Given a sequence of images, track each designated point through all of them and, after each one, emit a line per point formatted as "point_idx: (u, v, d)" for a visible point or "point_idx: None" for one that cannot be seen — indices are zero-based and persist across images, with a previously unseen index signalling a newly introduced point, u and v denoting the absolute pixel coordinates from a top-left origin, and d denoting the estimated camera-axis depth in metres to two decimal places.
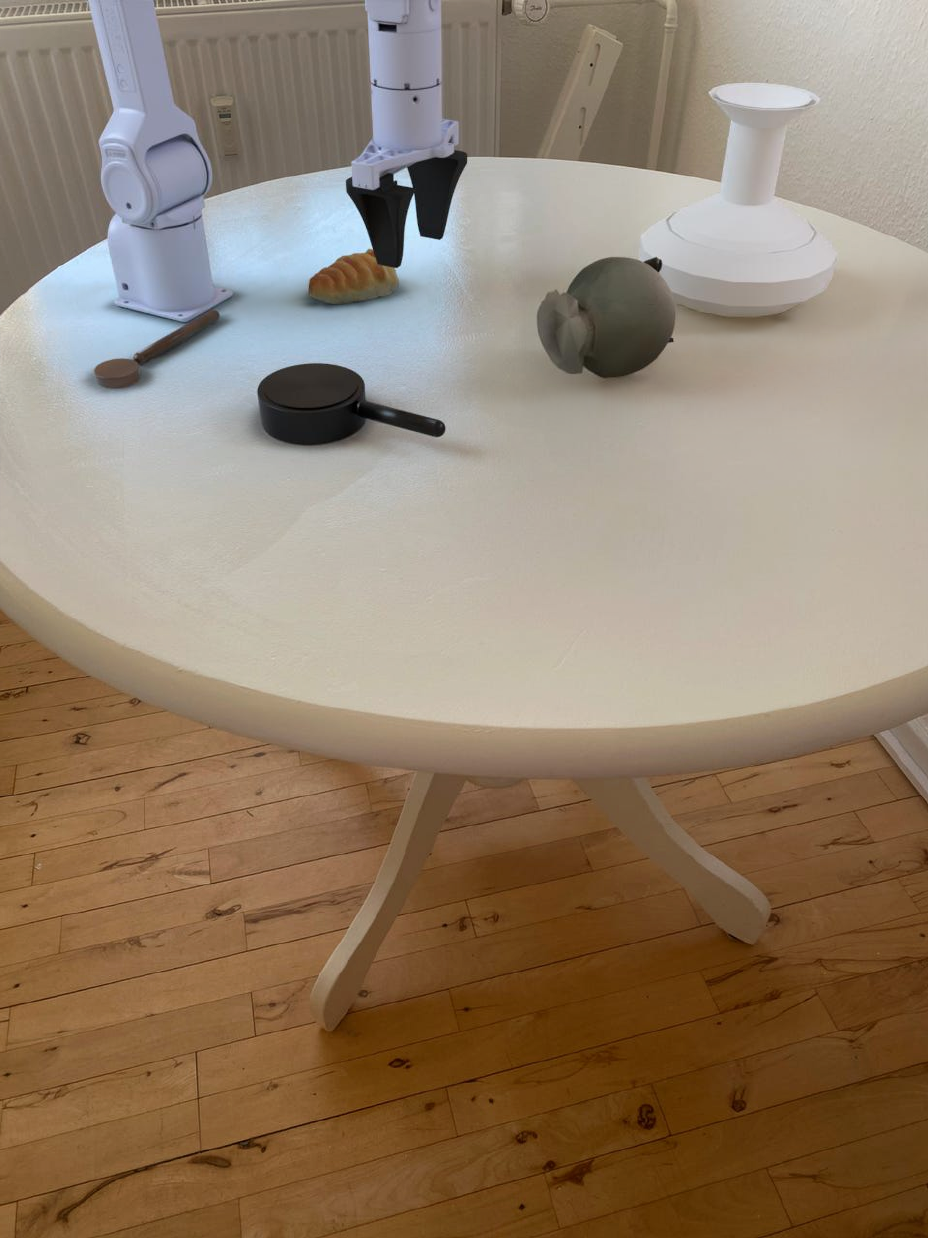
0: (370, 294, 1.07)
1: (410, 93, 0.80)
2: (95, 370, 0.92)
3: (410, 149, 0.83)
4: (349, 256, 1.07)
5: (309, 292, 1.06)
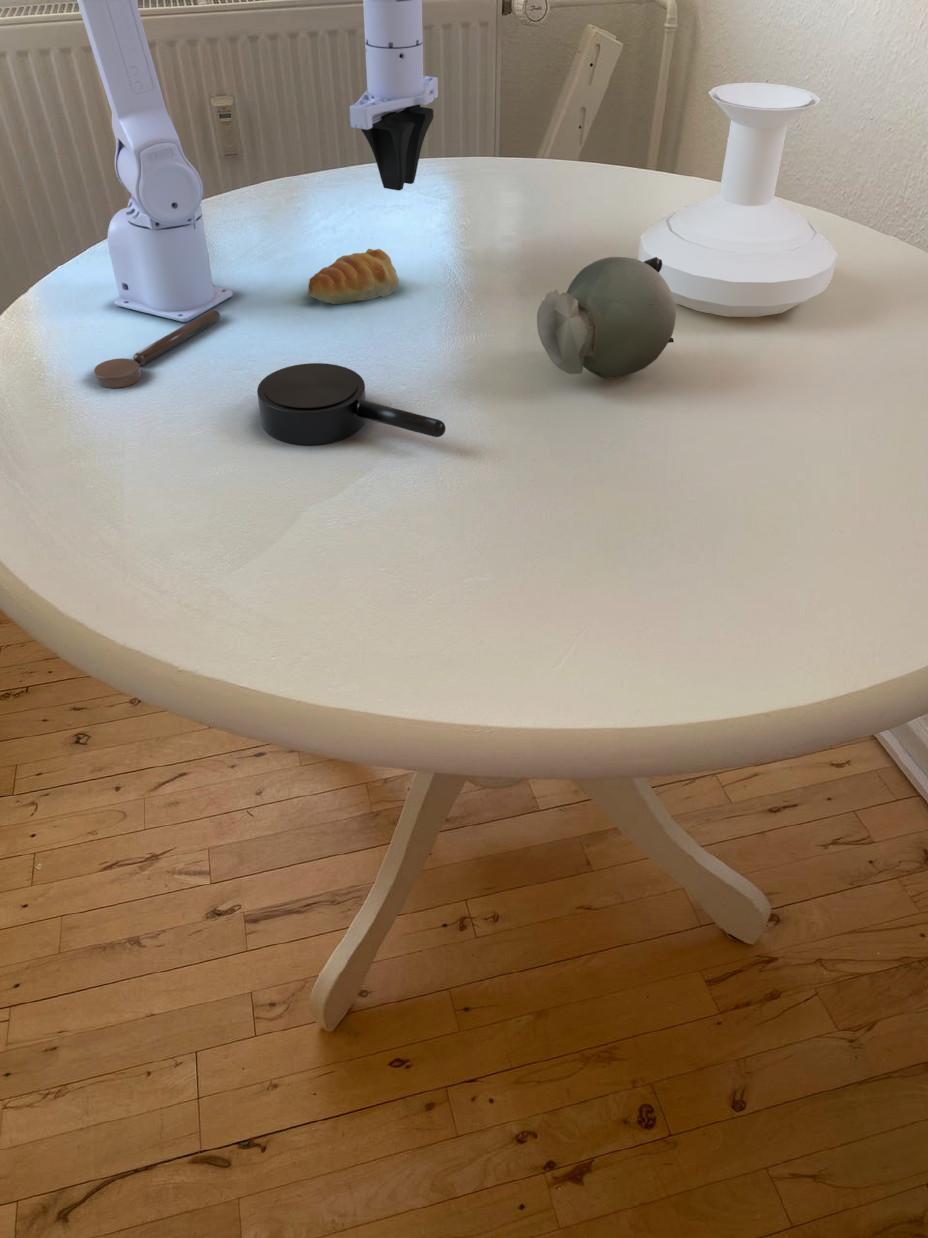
0: (370, 294, 1.07)
1: (397, 50, 0.99)
2: (95, 370, 0.92)
3: (397, 97, 1.02)
4: (349, 256, 1.07)
5: (309, 292, 1.06)
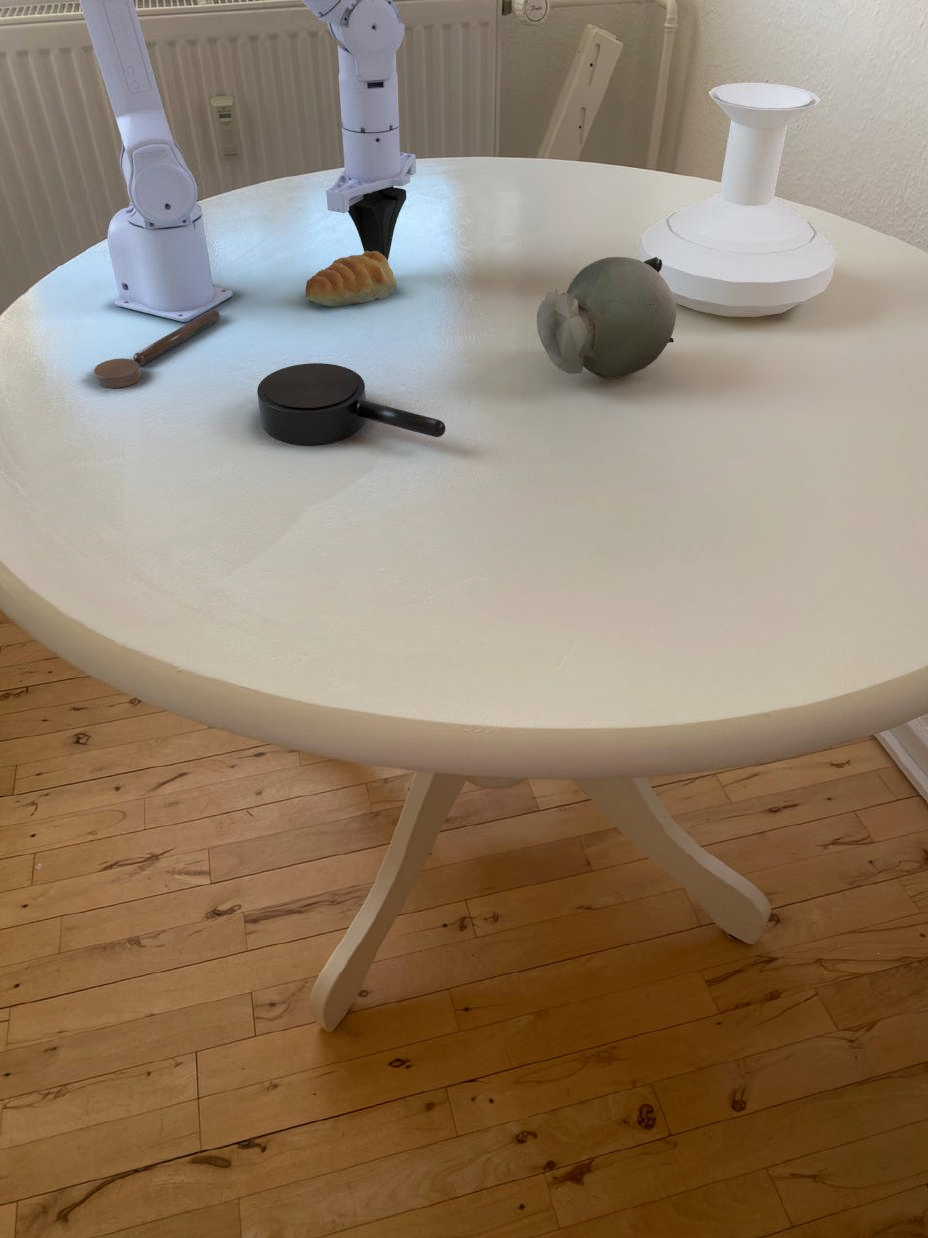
0: (367, 296, 1.06)
1: (373, 135, 1.00)
2: (95, 370, 0.92)
3: (374, 179, 1.02)
4: (346, 258, 1.07)
5: (306, 294, 1.06)
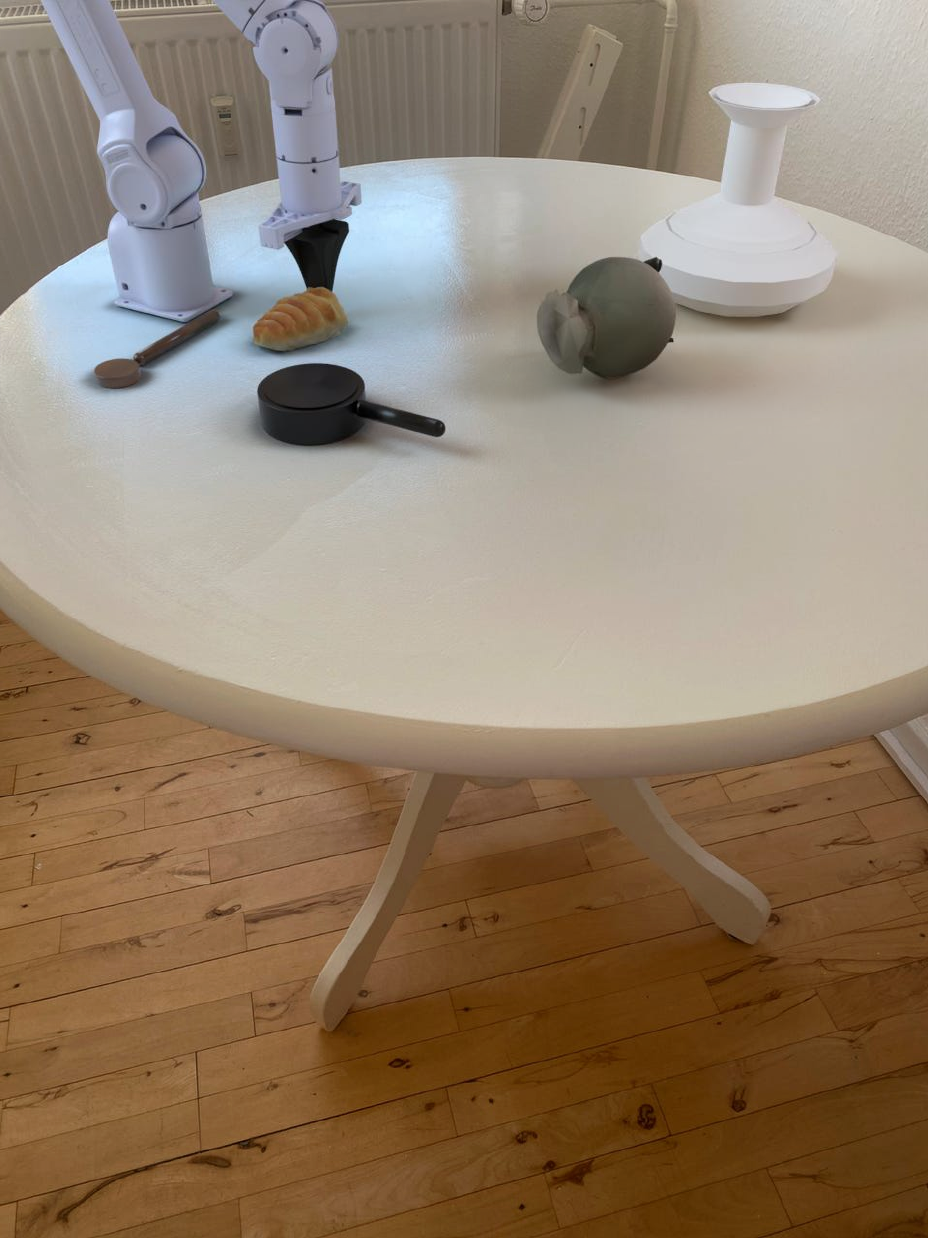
0: (321, 336, 0.99)
1: (309, 165, 0.92)
2: (95, 370, 0.92)
3: (312, 212, 0.95)
4: (292, 297, 0.99)
5: (255, 340, 0.97)
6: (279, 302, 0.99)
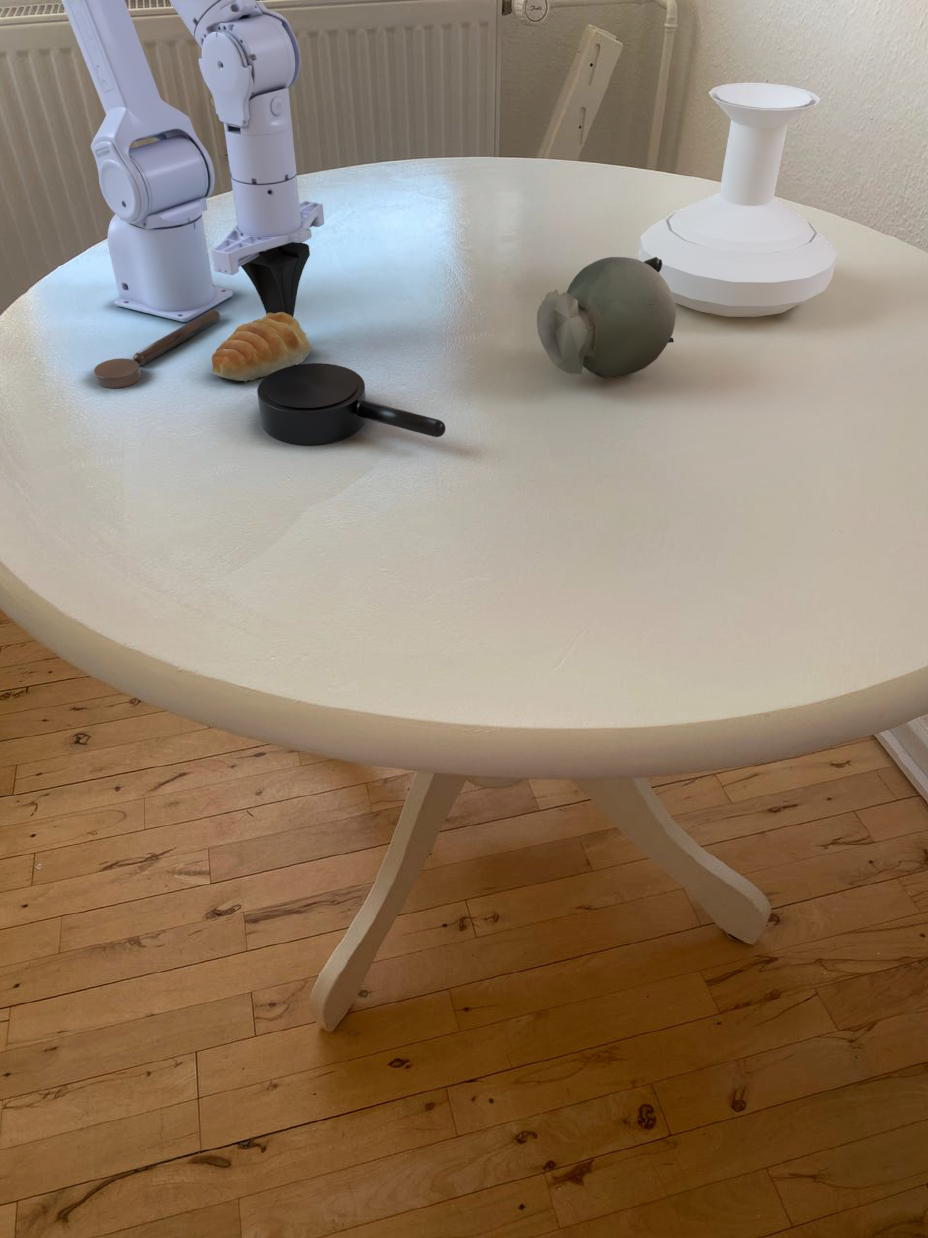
0: (284, 364, 0.94)
1: (264, 187, 0.88)
2: (95, 370, 0.92)
3: (268, 236, 0.90)
4: (252, 324, 0.94)
5: (215, 371, 0.92)
6: (238, 329, 0.95)
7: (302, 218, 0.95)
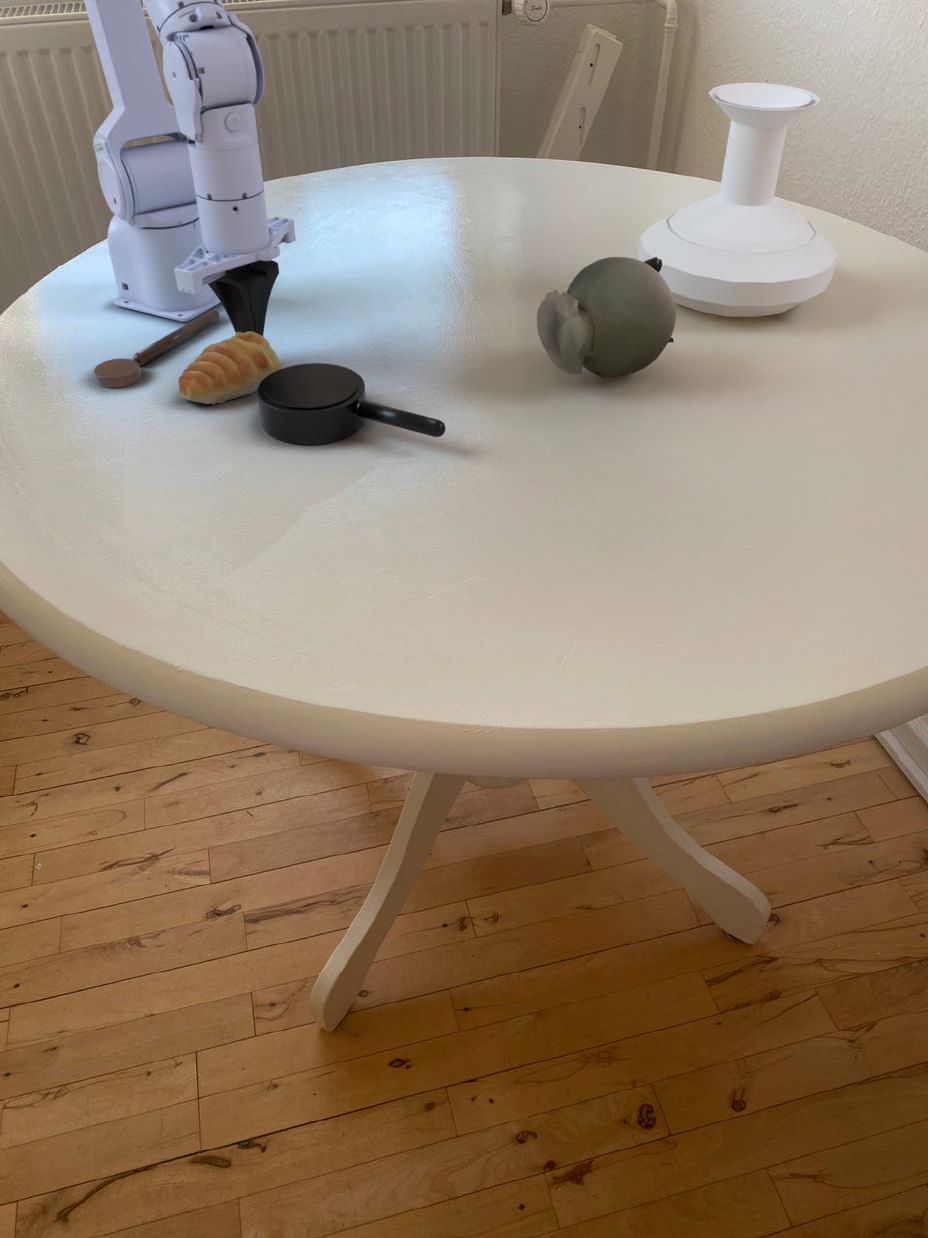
0: (254, 386, 0.91)
1: (229, 203, 0.84)
2: (95, 370, 0.92)
3: (235, 254, 0.87)
4: (220, 345, 0.91)
5: (182, 394, 0.89)
6: (206, 350, 0.91)
7: (271, 234, 0.92)
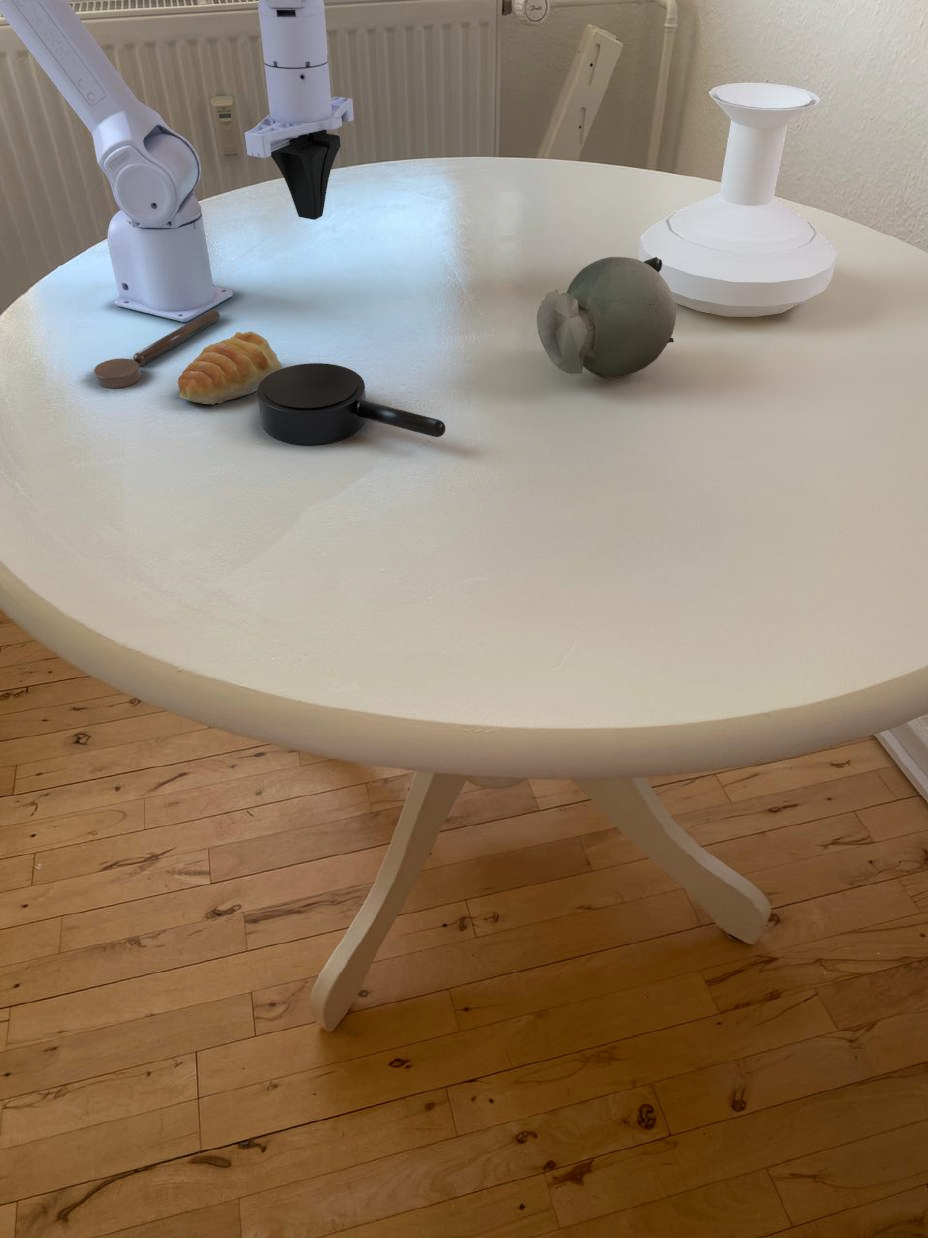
0: (253, 386, 0.91)
1: (297, 71, 0.90)
2: (95, 370, 0.92)
3: (300, 122, 0.92)
4: (219, 345, 0.91)
5: (181, 394, 0.89)
6: (205, 350, 0.91)
7: (332, 111, 0.97)
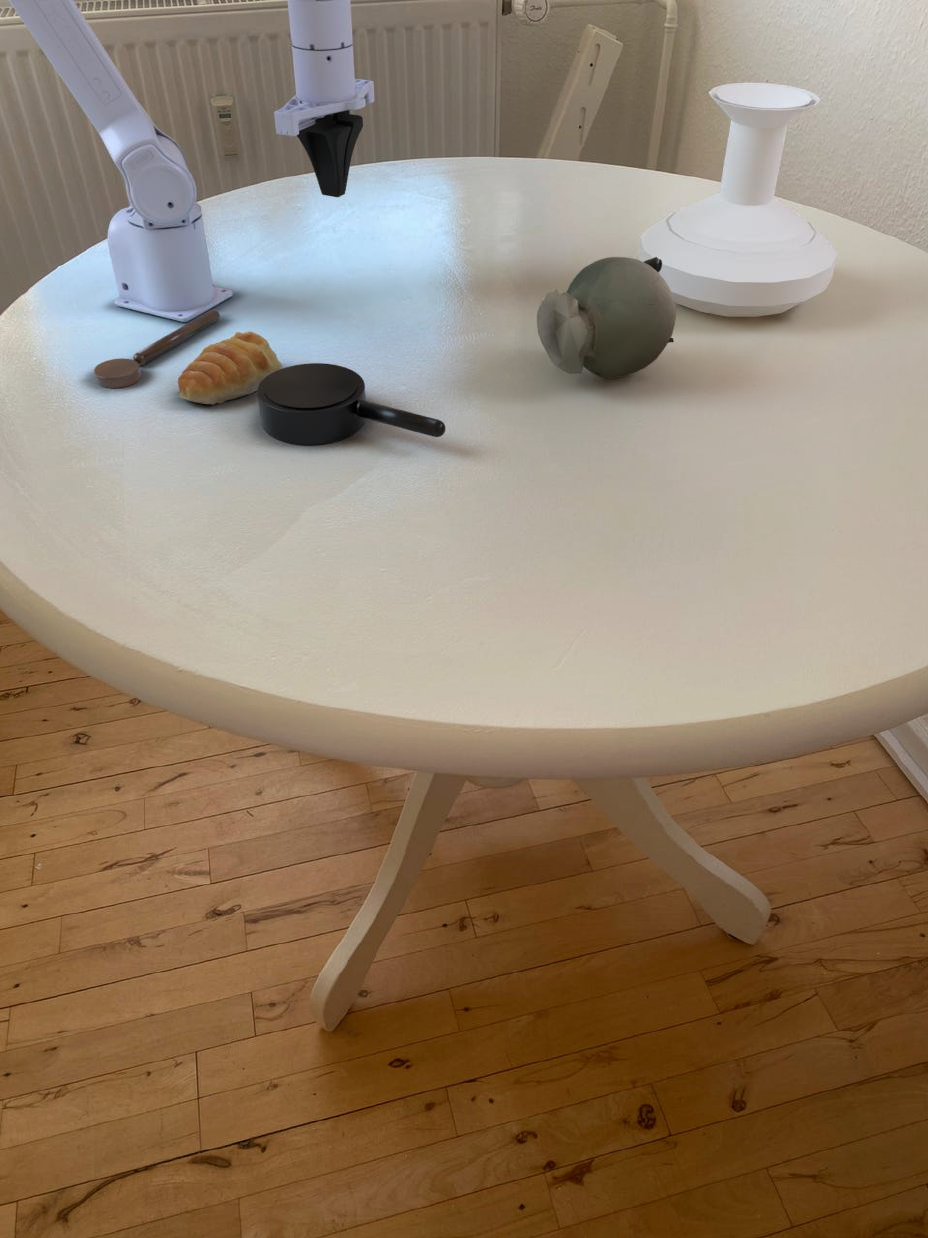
0: (253, 386, 0.91)
1: (324, 52, 0.94)
2: (95, 370, 0.92)
3: (326, 102, 0.96)
4: (219, 345, 0.91)
5: (181, 394, 0.89)
6: (205, 350, 0.91)
7: (355, 92, 1.01)
